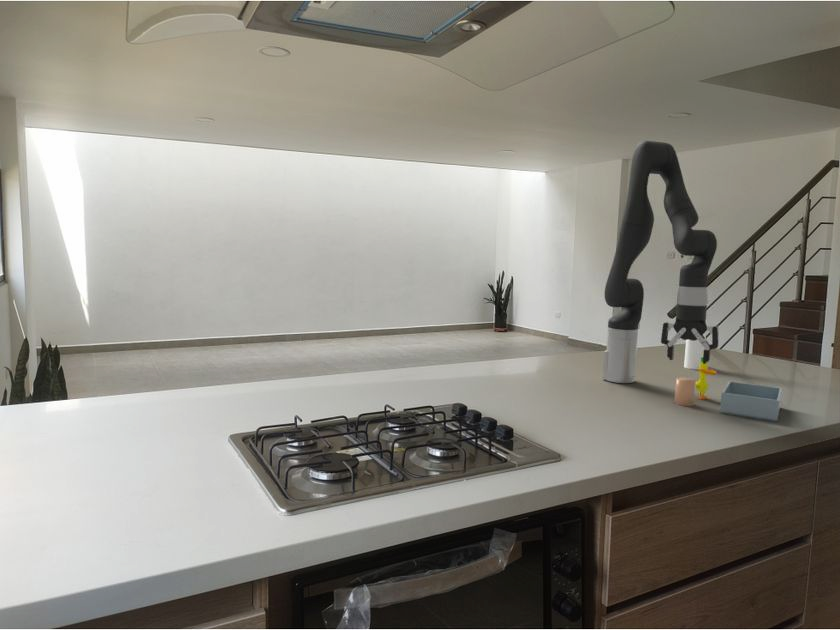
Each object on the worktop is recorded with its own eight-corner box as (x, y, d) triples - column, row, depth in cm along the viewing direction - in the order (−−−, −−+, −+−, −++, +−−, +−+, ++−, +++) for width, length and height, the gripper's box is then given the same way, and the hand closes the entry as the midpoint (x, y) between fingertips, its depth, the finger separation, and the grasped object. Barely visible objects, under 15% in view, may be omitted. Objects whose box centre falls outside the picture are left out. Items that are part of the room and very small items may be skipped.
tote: (719, 412, 155) (721, 392, 154) (727, 399, 169) (729, 381, 168) (777, 422, 148) (779, 400, 147) (780, 407, 162) (781, 388, 161)
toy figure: (717, 400, 168) (721, 359, 166) (708, 401, 166) (712, 360, 165) (697, 395, 174) (701, 355, 172) (689, 396, 172) (692, 356, 171)
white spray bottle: (713, 367, 216) (716, 299, 213) (695, 371, 209) (698, 301, 206) (695, 364, 221) (698, 298, 218) (677, 368, 214) (680, 300, 211)
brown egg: (672, 404, 163) (674, 379, 162) (676, 400, 167) (677, 376, 166) (692, 407, 160) (694, 382, 159) (695, 403, 164) (697, 379, 163)
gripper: (661, 302, 161) (657, 360, 163) (718, 305, 153) (714, 366, 155) (666, 300, 167) (663, 356, 169) (722, 304, 159) (718, 362, 161)
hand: (687, 361), depth 162 cm, fingers open, 8 cm apart
